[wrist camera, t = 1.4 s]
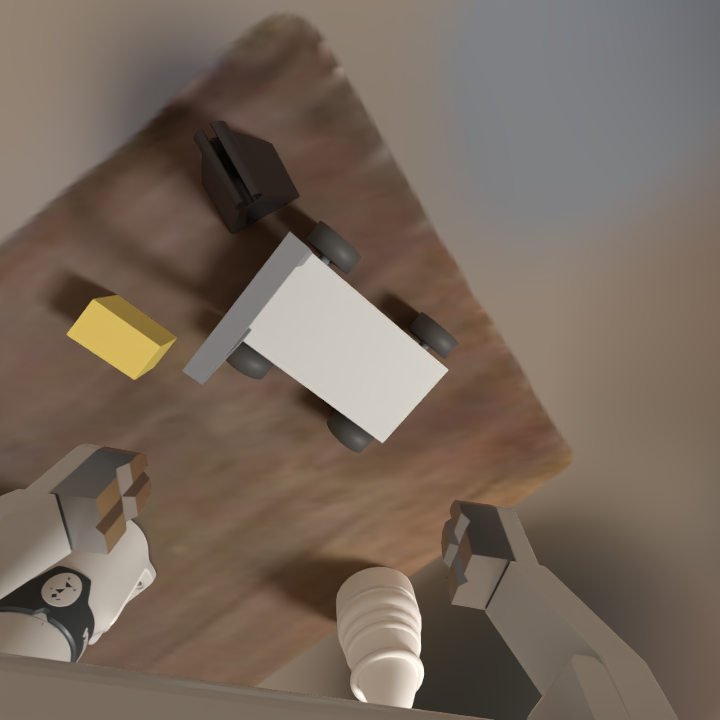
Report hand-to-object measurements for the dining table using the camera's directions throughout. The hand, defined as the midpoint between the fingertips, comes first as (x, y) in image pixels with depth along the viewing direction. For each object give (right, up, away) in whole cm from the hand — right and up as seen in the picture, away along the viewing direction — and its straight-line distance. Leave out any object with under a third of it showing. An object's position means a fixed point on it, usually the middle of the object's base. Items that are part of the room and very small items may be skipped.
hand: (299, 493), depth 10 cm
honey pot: (+4, -36, +49) cm, 61 cm away
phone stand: (-11, +23, +31) cm, 40 cm away
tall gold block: (-26, +7, +34) cm, 43 cm away
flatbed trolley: (-1, +6, +37) cm, 38 cm away
